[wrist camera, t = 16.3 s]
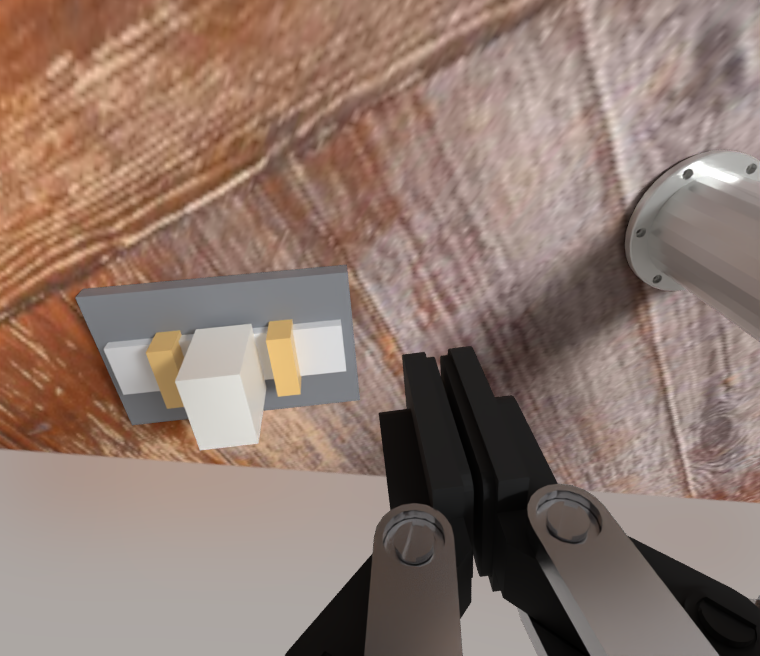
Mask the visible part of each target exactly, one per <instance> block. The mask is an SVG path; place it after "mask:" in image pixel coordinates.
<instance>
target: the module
mask: <svg viewBox="0 0 760 656" xmlns="http://www.w3.org/2000/svg"><path fill="white" fill-rule="evenodd" d="M175 383H176V386H177V388H178V391H179V394H180V397H181V399H182V402H183V405H184V408H185V410H186V413H187V416H188V419H189V421H190V424H191V427H192V430H193V432H194V435H195V438H196V440H197V443H198V446H199V449H200V450H207V449H216V448H224V447H233V446H241V445H249V444H258V443H259V436H260V430H261V423H262V416H263V409H264V402H265V395H266V384H265V379H264V375H263V371H262V367H261V362H260V358H259V354H258V350H257V345H256V341H255V337H254V333H253V328H252V324H243V325H234V326H224V327H214V328H205V329H196V331H195V333H194V336H193V338H192V341H191V343H190V346H189V348H188V350H187V353H186V355H185V358H184V360H183V363H182V365H181V368H180V370H179V373H178V375H177V378H176V380H175Z"/></svg>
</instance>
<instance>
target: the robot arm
mask: <svg viewBox="0 0 760 656" xmlns="http://www.w3.org/2000/svg"><path fill="white" fill-rule="evenodd" d="M625 252H626V258H627V261H628V263H629V266H630V268H631V269H632V270H633V272H634V273H635V275H637V276H638V277H639V278H640V279H641V280H642V281H644V282H645V283H647V284H648V285H650V286H652V287H654V288H657V289H661V290H666V291H681V290H688V291H689V292H690V293H692V294H693V295H695V296H696V297H697V298H699V299H700V300H702V301H703V302H704V303H706V304H707V305H709V306H710V307H711V308H713V309H714V310H716V311H717V312H718V313H720V314H721V315H723V316H724V317H725V318H727V319H728V320H730V321H731V322H732V323H734V324H735V325H737V326H738V327H739V328H741V329H742V330H744V331H745V332H746V333H748V334H749V335H751V336H752V337H753V338H755V339H756V340H758V341H759V342H760V161H759V160H757V159H756V158H754V157H752V156H751V155H748V154H745V153H742V152H738V151H732V150H712V151H708V152H704V153H700V154H697V155H695V156H692V157H690V158H688V159H686V160H684V161H682V162H680V163H679V164H677V165H675V166H674V167H672V168H671V169H669V170H668V171H667V172H666V173H664V174H663V175H662V176H661V177H660V178H659V179H657V180H656V181H655V182H654V183H653V185H652V186H651V187H650V188H649V189H648V190H647V191H646V192H645V194H644V195H643V197H642V198H641V200H640V201H639V203H638V204H637V206H636V207H635V210H634V212H633V214H632V216H631V218H630V220H629V224H628V227H627V231H626V237H625ZM402 360H403V372H404V383H405V395H406V406H407V409H403V410H396V411H388V412H380V413H379V420H380V428H381V436H382V444H383V453H384V461H385V469H386V477H387V485H388V493H389V502H390V511H389V512H388V513H387V514H386V515H384V516H383V517H382V519H381V521H380V522H379V524H378V525H377V527H376V531H375V535H374V543H373V554H372V555H371V556H370V557H369V558H368V559H367V560H366V562H365V563H364V564H363V565H362V566H361V567H360V569H359V570H358V571H357V572H356V573H355V574H354V575H353V577H352V578H351V579H350V580H349V581H348V582H347V583H346V585H345V586H344V587H343V588H342V590H341V591H339V593H338V594H337V595H336V596H335V597H334V598H333V600H332V601H331V602H330V603H329V604H328V605H327V606H326V608H325V609H324V610H323V611H322V612H321V613H320V615H319V616H318V617H317V618H316V619H315V620H314V621H313V623H312V624H311V625H310V626H309V627H308V628H307V629H306V631H305V632H304V633H303V634H302V635H301V636H300V638H299V639H298V640H297V641H296V642H295V644H293V646H292V647H291V648H290V649H289V650H288V651H287V653H286V654H285V656H463V653H462V639H461V625H460V619H461V617H462V616H463V614H464V612H465V611H466V609H467V608H468V606H469V605H470V603H471V578H472V577H473V555H474V559H475V563H476V567H477V570H478V573H479V576H480V577H482V576H488V577H489V580H490V583H491V587H492V591H493V592H494V591H501V593H502V596H503V598H504V599H506V600H507V601H509V602H510V603H512V604H513V605H515V606H516V607H518V612H519V615H520V618H521V621H522V623H523V625H524V627H525V629H526V631H527V634H528V636H529V638H530V640H531V642H532V644H533V646H534V648H535V650H536V653H537V655H538V656H760V596H759V597H758V599H748V598H747V597H745V596H743V595H742V594H740V593H738V592H737V591H735V590H734V589H732V588H730V587H728V586H726V585H724V584H722V583H720V582H718V581H716V580H714V579H712V578H710V577H708V576H706V575H704V574H702V573H700V572H698V571H696V570H694V569H693V568H690V567H689V566H687V565H685V564H683V563H681V562H679V561H676V560H675V559H673V558H670V557H669V556H667V555H665V554H663V553H661V552H659V551H657V550H655V549H653V548H651V547H649V546H647V545H645V544H643V543H641V542H639V541H637V540H635V539H633V538H631V537H629V536H627V535H626V533H625V532H624V531H623V529H622V528H621V527H620V525H619V524H618V523H617V521H616V520H615V519H614V518H613V516H612V515H611V514H610V512H609V511H608V510H607V508H606V507H605V506H604V505H603V504H602V503H601V502H600V501H599V500H598V499H597V498H596V497H595V496H594V495H592V494H590V493H589V492H587V491H586V490H584V489H581V488H578V487H576V486H573V485H566V484H558V483H557V481H556V479H555V477H554V475H553V473H552V471H551V469H550V467H549V465H548V463H547V461H546V459H545V457H544V455H543V453H542V451H541V449H540V447H539V445H538V443H537V441H536V439H535V437H534V435H533V433H532V431H531V429H530V427H529V425H528V423H527V421H526V419H525V417H524V415H523V413H522V411H521V409H520V407H519V405H518V403H517V401H516V400H515V398H514V397H513V396H512V395H511V396H503V397H494V395H493V393H492V390H491V388H490V386H489V383H488V381H487V379H486V377H485V374H484V372H483V370H482V368H481V365H480V363H479V361H478V359H477V356H476V354H475V352H474V350H473V348H472V347H471V346H467V347H459V348H452V349H448V355H444V356H441V357H440V366H441V376H440V373H439V370H438V366H437V363H436V360H435V357H428V358H427V357H426V354H425V352H420V353H413V354H405V355H402Z"/></svg>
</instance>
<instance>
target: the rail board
mask: <svg viewBox="0 0 760 656" xmlns="http://www.w3.org/2000/svg"><path fill="white" fill-rule="evenodd" d="M75 298H76V300H77V303H78V305H79V307H80V309H81V312H82V314H83V316H84V318H85V321H86V323H87V325H88V327H89V330H90V332H91V334H92V336H93V338H94V341H95V343H96V345H97V347H98V350H99V352H100V354H101V356H102V359H103V361H104V363H105V365H106V368H107V370H108V372H109V374H110V377H111V379H112V381H113V383H114V385H115V388H116V390H117V392H118V394H119V397H120V399H121V401H122V403H123V406H124V408H125V410H126V412H127V415H128V417H129V419H130V421H131V423H132V425H138V424H147V423H156V422H165V421H174V420H183V419H188V416H187V413H186V410H185V408H184V405H183V402H182V399H181V397H180V394H179V391H178V388H177V386H176V383H175V380H176V378H177V375H178V373H179V370H180V368H181V365H182V363H183V360H184V358H185V355H186V353H187V350H188V348H189V346H190V343H191V341H192V338H193V336H194V333H195V331H196V329H205V328H214V327H224V326H234V325H243V324H252V328H253V333H254V337H255V341H256V345H257V350H258V354H259V358H260V362H261V367H262V371H263V375H264V379H265V384H266V395H265V402H264V409H263V411H265V410H274V409H283V408H292V407H301V406H310V405H319V404H328V403H337V402H346V401H356V400H360V396H359V386H358V376H357V365H356V355H355V344H354V334H353V323H352V313H351V303H350V292H349V282H348V272H347V265H339V266H328V267H317V268H306V269H295V270H284V271H273V272H263V273H252V274H241V275H230V276H219V277H208V278H197V279H186V280H176V281H165V282H154V283H143V284H132V285H121V286H110V287H99V288H89V289H83V290H82V291H81V292H80V293H79V294H78V295H77V296H76V297H75Z"/></svg>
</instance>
